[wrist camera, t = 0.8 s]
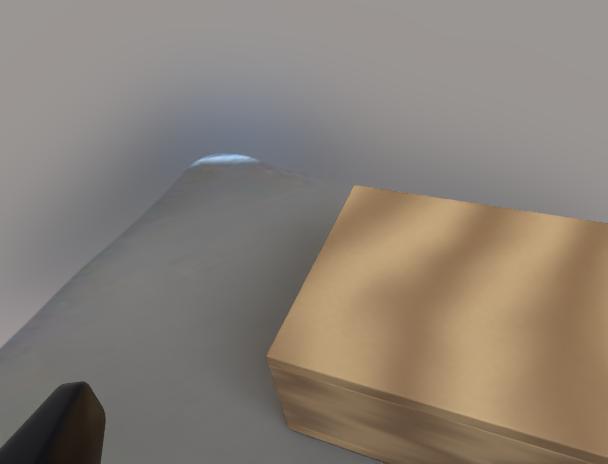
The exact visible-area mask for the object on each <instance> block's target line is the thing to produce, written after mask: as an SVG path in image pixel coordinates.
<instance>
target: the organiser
mask: <svg viewBox="0 0 608 464" xmlns="http://www.w3.org/2000/svg"><path fill="white" fill-rule="evenodd" d="M266 358H267V361H268V365H269V368H270V371H271V374H272V377H273V380H274V384H275V387H276V390H277V393H278V396H279V399H280V403H281V406H282V409H283V412H284V415H285V418H286V421H287V425H288V428H289V429H290V430H293V431H296V432H299V433H302V434H305V435H308V436H311V437H314V438H316V439H319V440H322V441H325V442H328V443H331V444H334V445H337V446H340V447H342V448H345V449H348V450H351V451H354V452H357V453H360V454H363V455H365V456H368V457H371V458H374V459H377V460H380V461H383V462H386V463H389V464H608V223H601V222H595V221H588V220H581V219H575V218H568V217H561V216H554V215H549V214H541V213H535V212H528V211H522V210H515V209H509V208H502V207H496V206H489V205H482V204H476V203H469V202H463V201H455V200H449V199H442V198H436V197H430V196H423V195H415V194H409V193H403V192H397V191H390V190H383V189H377V188H370V187H364V186H357V185H354V187H353V189H352V191H351V193H350V195H349V197H348V199H347V200H346V202H345V204H344V206H343V208H342V210H341V212H340V214H339V216H338V218H337V220H336V222H335V224H334V226H333V228H332V229H331V231H330V233H329V235H328V237H327V239H326V241H325V243H324V245H323V247H322V249H321V251H320V253H319V255H318V257H317V258H316V260H315V262H314V264H313V266H312V268H311V270H310V272H309V274H308V276H307V278H306V280H305V282H304V284H303V286H302V288H301V289H300V291H299V293H298V295H297V297H296V299H295V301H294V303H293V305H292V307H291V309H290V311H289V313H288V315H287V317H286V318H285V320H284V322H283V324H282V326H281V328H280V330H279V332H278V334H277V336H276V338H275V340H274V342H273V344H272V346H271V347H270V349H269V351H268V353H267V355H266Z"/></svg>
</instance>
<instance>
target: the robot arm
mask: <svg viewBox="0 0 608 464" xmlns="http://www.w3.org/2000/svg"><path fill="white" fill-rule="evenodd" d="M105 422H106V419H105V412H104V409H103V407H102V405H101V404H100V402H99V400H98V399H97V397H96V395H95V394H94V392H93V391H92V389H91V387H90V386H89V384H87V383H86V382H74V383H66V384H63V385H60V386H59V387H58V388H57V389H56V390H55V391H54V392H53V393H52V394H51V395H50V396H49V397H48V398H47V399H46V400H45V401H44V402H43V404H42V405H41V406H40V407H39V408H38V409H37V410H36V411H35V412H34V413H33V414H32V415H31V416H30V417H29V419H28V420H27V421H26V422H25V423H24V424H23V425H22V426H21V427H20V428H19V429H18V430H17V431H16V432H15V434H14V435H13V436H12V437H11V438H10V439H9V440H8V441H7V442H6V443H5V444H4V445H3V446H2V447H1V448H0V464H101V456H102V447H103V439H104V431H105Z"/></svg>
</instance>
